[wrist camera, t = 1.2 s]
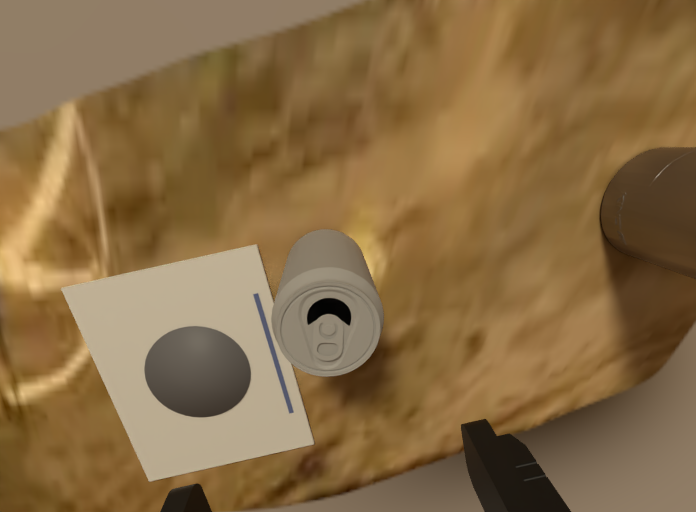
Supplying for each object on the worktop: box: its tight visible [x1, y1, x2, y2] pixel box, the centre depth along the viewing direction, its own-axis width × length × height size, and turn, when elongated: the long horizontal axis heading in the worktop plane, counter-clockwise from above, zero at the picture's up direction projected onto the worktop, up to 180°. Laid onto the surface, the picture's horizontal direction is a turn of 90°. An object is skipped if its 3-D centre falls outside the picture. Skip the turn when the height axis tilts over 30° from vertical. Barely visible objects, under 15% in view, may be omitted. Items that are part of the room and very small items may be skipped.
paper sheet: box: [61, 244, 314, 482], centre depth 34 cm, size 16×20×1 cm
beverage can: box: [271, 229, 384, 377], centre depth 26 cm, size 6×6×12 cm
